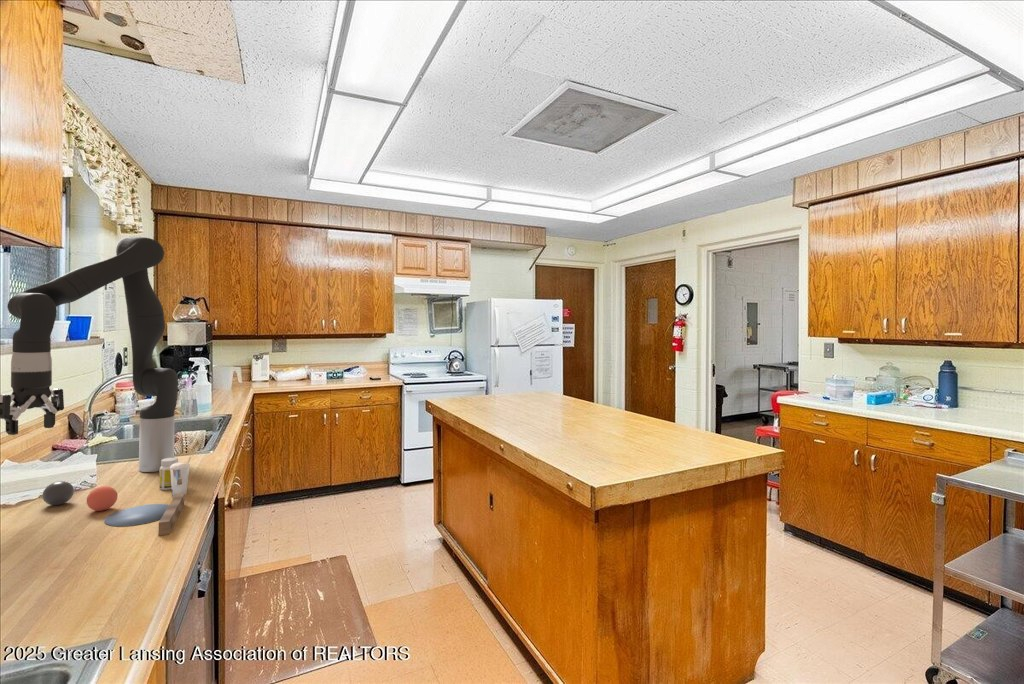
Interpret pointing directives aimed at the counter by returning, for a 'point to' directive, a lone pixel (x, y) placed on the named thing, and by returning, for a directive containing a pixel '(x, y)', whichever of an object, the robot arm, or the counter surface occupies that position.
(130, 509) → the blue-grey flat disc
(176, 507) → the stopper rail
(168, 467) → the supplement bottle
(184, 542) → the counter surface
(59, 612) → the counter surface
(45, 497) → the dark gray ball
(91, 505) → the red ball
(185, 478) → the milkshake
